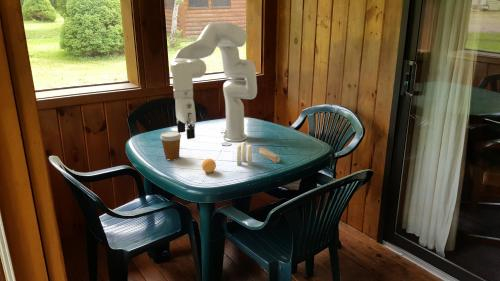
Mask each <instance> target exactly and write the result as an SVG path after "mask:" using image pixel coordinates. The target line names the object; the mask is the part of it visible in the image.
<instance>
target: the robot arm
mask: <svg viewBox="0 0 500 281" xmlns="http://www.w3.org/2000/svg"><path fill="white" fill-rule="evenodd" d="M246 43H247V33H246V31H245V29H244V28H242V27H241V26H239V25H237V24H235V23H232V22H211V23H208V24H207V25H206V26H205V27H204V29H203V30H202V32H201V33H200V35H199V36H198V38H197V39H196V41H193V42H191V43H189V44H188V45H187V44H186V45H185V46H184V47H182V48H181V49H179V50H178V51H177V52H176V54H175V55H174V57H173V58H172V60H171V63H170V72H171V75H172V87H173V88H172V89H173V99H174V101H175V104H174V105H175V117H176V125H177V126H176V128H177V131H178V133H180V134H181V133H186V139H187V140H191V139H196V133H195V128H196V127H195V126H196V122H197V117H196V116H197V115H196V109H195V108H196V107H195V100H194V83H193V79H199V78H202V77H203V76H204V75H206V72H207V64H206V63H205V61H204V60H202V59H204V58H207V57H209V56H210V57H211V55H213V54H214V53H215V50H217V48H219V51H220V52H221V54H220V55H221V59H222V67H223V73H224V76H225V77H227V78H228V79H227V80H226V81H225V82H223V86H222V90H223V91H222V92H223V96H224V102H225V104H224V105H225V127H226V128H221V129H220V134H224V135H223V140H224V141H226V142H231V143H232V142H233V143H238V142H245V141H246V140H248V135H247V134H245V107H244V103H243V101H242V99H243V100H253V99H255V98H256V97H257V94H258V83H257V71H256V66H255V63H254V61H253V60H251V59H242V58H240V52H239V48H241V47H243V46H245V44H246Z"/></svg>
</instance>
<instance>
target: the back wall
mask: <svg viewBox="0 0 500 281" xmlns="http://www.w3.org/2000/svg"><path fill="white" fill-rule="evenodd" d="M258 153H259V155H261V156H263V157H265V158H267V159H268V160H270V161H271V160H272V162H274V164H276V163H280V155H279V154H277V153H275V152H274V151H273V152H272V150H269V149H267V148H266V147H263V146H261V147H259V148H258Z"/></svg>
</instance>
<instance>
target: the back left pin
mask: <svg viewBox="0 0 500 281" xmlns="http://www.w3.org/2000/svg"><path fill="white" fill-rule="evenodd" d="M241 159H242V163H245V162H247V142H246V141H241Z"/></svg>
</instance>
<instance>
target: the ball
mask: <svg viewBox="0 0 500 281" xmlns="http://www.w3.org/2000/svg"><path fill="white" fill-rule="evenodd" d="M201 168H202V170H203V171H204V172H205V173H207V174H209V173H213V172H214V171H215V170H216V168H217V163H216V162H215V160H214V159H212V158H206V159H204V160H203V161H202V163H201Z"/></svg>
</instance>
